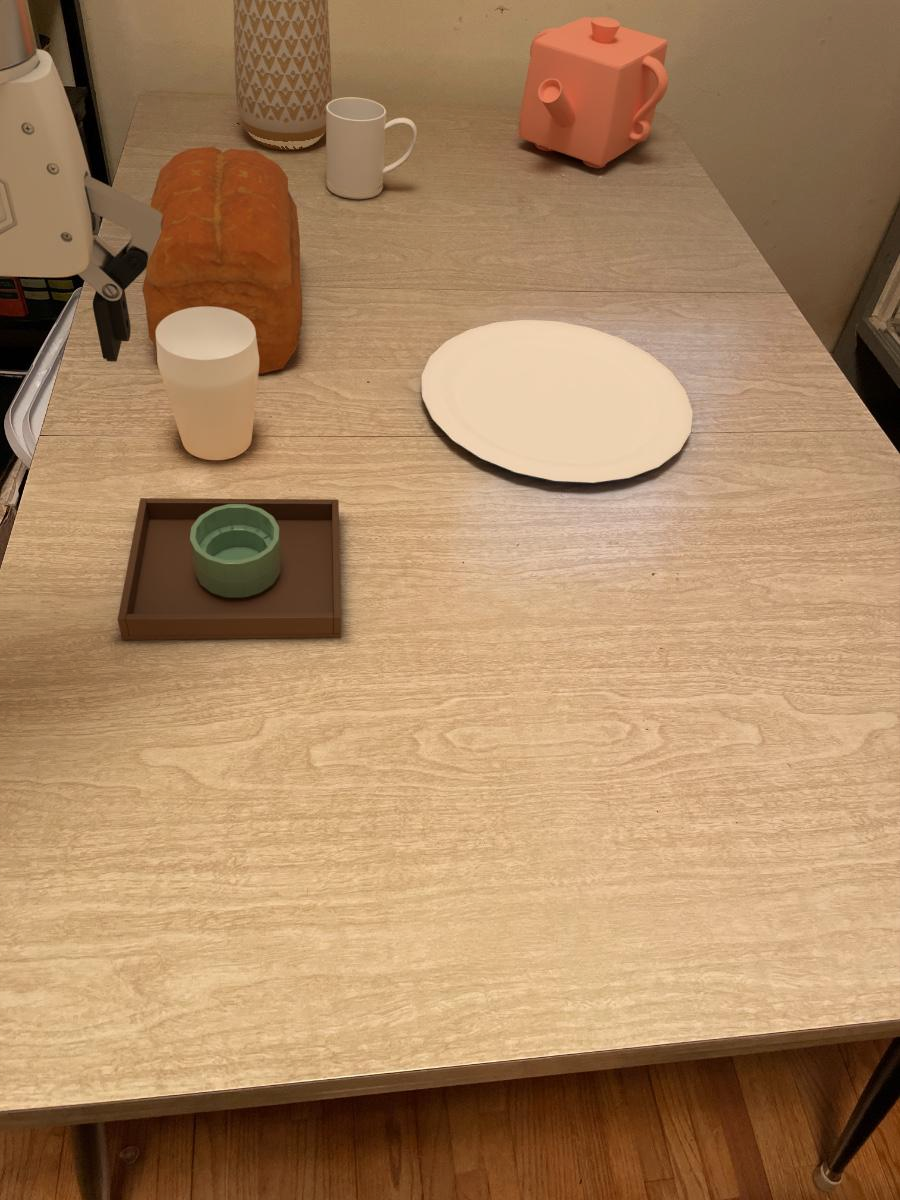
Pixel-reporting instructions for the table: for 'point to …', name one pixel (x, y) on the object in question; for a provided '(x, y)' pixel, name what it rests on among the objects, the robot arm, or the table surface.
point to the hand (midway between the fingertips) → (30, 346)
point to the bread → (228, 246)
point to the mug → (359, 146)
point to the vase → (282, 68)
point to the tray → (189, 611)
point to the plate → (556, 401)
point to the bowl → (236, 550)
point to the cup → (210, 378)
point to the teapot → (592, 89)
